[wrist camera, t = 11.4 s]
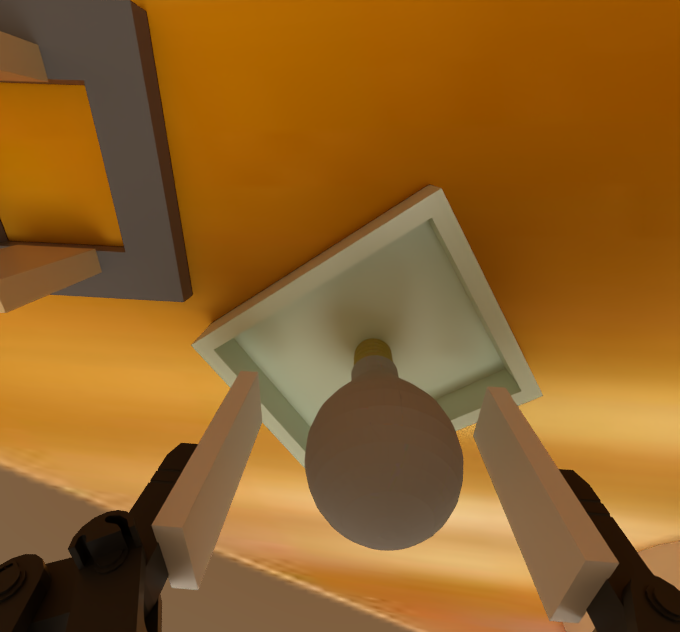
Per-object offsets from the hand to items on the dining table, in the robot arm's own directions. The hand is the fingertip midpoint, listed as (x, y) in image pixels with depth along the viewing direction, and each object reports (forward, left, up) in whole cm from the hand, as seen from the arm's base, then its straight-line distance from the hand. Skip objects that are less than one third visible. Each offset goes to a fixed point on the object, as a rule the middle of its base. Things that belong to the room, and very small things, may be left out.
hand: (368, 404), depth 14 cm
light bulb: (0, 0, -5) cm, 5 cm away
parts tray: (0, 0, -5) cm, 5 cm away
